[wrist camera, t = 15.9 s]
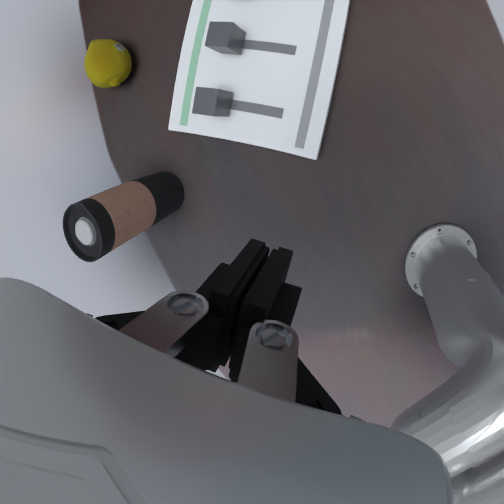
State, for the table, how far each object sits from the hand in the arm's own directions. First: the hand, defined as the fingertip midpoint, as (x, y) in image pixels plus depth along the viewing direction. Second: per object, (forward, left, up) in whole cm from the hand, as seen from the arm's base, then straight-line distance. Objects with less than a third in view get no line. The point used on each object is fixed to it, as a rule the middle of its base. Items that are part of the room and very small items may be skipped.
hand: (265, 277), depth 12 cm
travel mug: (+24, +10, -32) cm, 41 cm away
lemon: (+37, -12, -32) cm, 51 cm away
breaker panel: (+12, -15, -32) cm, 37 cm away
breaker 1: (+15, -15, -29) cm, 36 cm away
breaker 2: (+15, -6, -29) cm, 33 cm away
